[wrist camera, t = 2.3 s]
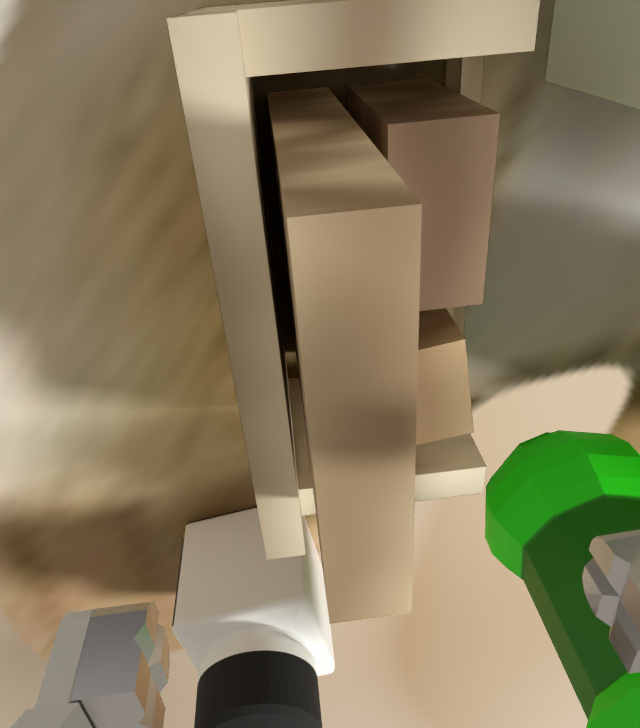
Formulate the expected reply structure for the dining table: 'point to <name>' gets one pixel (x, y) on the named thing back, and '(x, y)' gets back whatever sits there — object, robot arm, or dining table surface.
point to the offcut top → (442, 379)
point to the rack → (249, 208)
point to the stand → (597, 49)
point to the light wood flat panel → (352, 345)
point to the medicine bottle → (252, 626)
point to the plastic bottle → (569, 551)
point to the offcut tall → (438, 177)
